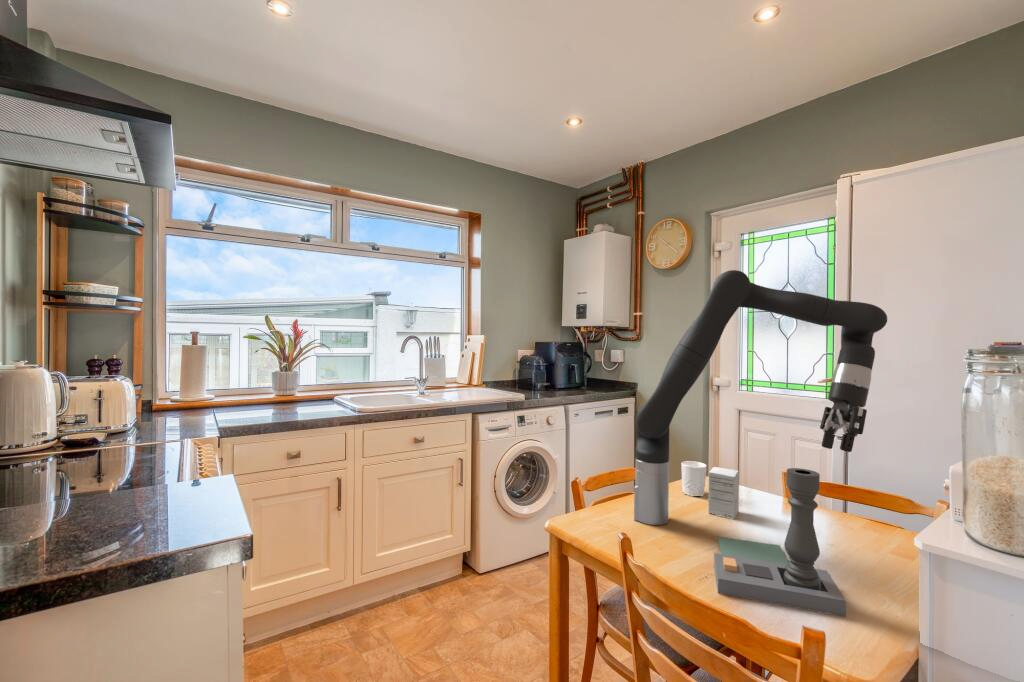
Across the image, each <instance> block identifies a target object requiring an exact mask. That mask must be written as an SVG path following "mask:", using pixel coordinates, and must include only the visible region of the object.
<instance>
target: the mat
mask: <svg viewBox="0 0 1024 682" xmlns="http://www.w3.org/2000/svg"><path fill="white" fill-rule="evenodd" d="M717 541H718V546H719V552H720V554H725V555H731V556H738V557H744V558H750V559H757V560H763V561H769V562H776V563H782V564H788V563H789V561H788V560H787V557H786V555H785V552H784V551H783V549H782V547H781V545H779V544H772V543H765V542H759V541H753V540H746V539H739V538H732V537H724V536H717Z"/></svg>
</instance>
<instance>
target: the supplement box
mask: <svg viewBox="0 0 1024 682" xmlns="http://www.w3.org/2000/svg"><path fill="white" fill-rule="evenodd" d="M739 486H740V471H739V470H736V469H731V468H724V467H718V466H713V467H712V468H711V469H710V470H709V471H708V502H707V503H708V511H707V512H708V514H709V513H712V514H717V515H721V516H725V517H730V518H735V519H736V518H737V516H738V513H739V512H740V511H739V509H740V507H739V505H740V502H739V500H740V497H739V496H740V495H739V494H740V487H739ZM712 514H711V515H712ZM721 516H720V517H721ZM725 517H724V518H725ZM730 518H729V519H730Z"/></svg>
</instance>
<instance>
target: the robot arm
mask: <svg viewBox="0 0 1024 682" xmlns="http://www.w3.org/2000/svg"><path fill="white" fill-rule="evenodd" d="M739 308H745V309H746V308H747V309H753V310H758V311H765V312H769V313H773V314H777V315H780V316H784V317H788V318H791V319H795V320H799V321H803V322H807V323H811V324H815V325H817V326H824V327H831V326H840V327H841V332H840V350H839V352H838V353H839V354H838V358H837V361H836V362H837V363H836V365H835V366H836V367H835V369H834V370H833V374H832V379H831V382H830V387H829V391H828V396H827V399H828V400H829V401H830V402H832V403H833V404H832V407H830V406H825V407H824V410H823V414H822V418H821V421H820V422H821V423H820V425H819V426H820V427H819V429H820V430H822V431H823V436H822V441H821V447H822V448H825V449H830V450H831V449H833V447H834V443H835V442H834V441H835V437H836V434H837V432H838V430H839V429H842V432H843V434H842V436H841V441H840V446H839V449H840V451H844V452H846V453H847V452H848V453H851V452H852V451H853V446H854V443H855V437H858V435H863V434H864V433H863V432H864V430H865V424H866V418H867V413H868V412H867V409H865V407H866V406H867V401H868V395H869V390H870V386H871V381H872V372H873V371H872V370H873V367H874V363H875V357H876V351H875V348H874V347H873V346H872V345H873V337H874V334H875V333H877V332H880V331H882V329H883V328H884V327H886V325H887V323H888V315H887V313H886V311H885V310H883V309H882V308H881V307H879V306H877V305H875V304H872V303H868V302H859V301H853V300H852V301H850V300H836V299H833V298H832V299H831V298H829V297H824V296H820V295H816V294H812V293H806V292H800V291H792V290H783V289H782V290H781V289H775V288H771V287H765V286H763V285H759V284H756V283H754V282H751V281H750V278H749V277H748V275H747V274H746V273H745V272H743V271H741V270H736V269H731V270H726V271H725V272H723V273H722V272H721V274H719V275H718V276H717V277H716V278H715V280H714V281H713V285H712V288H711V291H710V292H709V295H708V296H707V299H706V301H705V303H704V306H703V307H702V309H701V311H700V312H699V314H698V315H697V317H696V318H695V320H694V321H692V323H691V324H690V326H689V327H688V329H687V330H686V331H685V332H684V334H683V335H682V337H681V339H680V340H679V341H678V343H677V345H676V347H675V348H674V350H673V351H672V352H671V355H670V357H669V359H668V361H667V363H666V365H665V367H664V371H663V372H662V375H661V377H660V381H659V383H658V385H657V386H656V388H655V390H654V392H653V393H652V394H651V396H649V399H648V400H647V402H646V403H644V404H643V405H642V406H641V407H639V409H638V410H637V413H636V416H635V425H636V436H635V437H636V438H635V439H636V440H635V472H634V473H635V477H634V478H635V479H634V481H635V482H634V484H635V485H634V489H633V490H634V491H633V492H634V494H633V495H634V496H633V497H634V498H633V501H634V502H633V505H634V507H633V521H636V522H640V523H643V524H646V525H653V526H662V525H665V524H667V523H669V495H670V494H669V493H670V491H669V489H670V488H669V485H670V484H669V483H670V481H669V480H670V425H671V422H672V421H673V419H674V416H675V414H676V411H678V409H679V406H680V404H681V402H682V400H683V399H684V397H685V396H686V395H687V394H688V392H689V391H690V389H691V388H692V387H693V385H694V384H695V383H696V381H697V380H698V379H699V377H700V375H701V374H702V373H703V371H704V369H705V368H706V366H707V364H708V363H709V362H710V360H711V359H712V356H713V354H714V352H715V350H716V348H717V346H718V344H719V342H720V340H721V337H722V335H723V333H724V330H725V328H726V327H727V325H728V323H729V322H730V320H731V319H732V317H733V316H734V314H735V313H736V312H737V310H738V309H739Z"/></svg>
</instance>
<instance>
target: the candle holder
mask: <svg viewBox="0 0 1024 682" xmlns="http://www.w3.org/2000/svg"><path fill="white" fill-rule="evenodd" d="M820 475H821V474H820V473H819V472H817V471H815V470H811V469H805V468H799V467H791V468H790V467H789V468H787V469H786V486H787V490H788V491H789V493H790V495H791V496H789V497H788V498H787V503H788V505H790V507H791V508H790V511H791V513H790V517H791V518H790V523H789V525H788V529H787V534H786V537H785V540H784V542H783V543H784V544H783V545H784V548H785V552H786V553H787V555H788V559H789V561H788V564H787V565H786V566H785V568H786V571H785V572H784V582H783V583H784V585H789V586H795V587H801V588H807V589H813V590H818V591H819V580H818V579H817V577H818V573H817V571H816V570H815V569H816V568H815V567H814V566H815V562H816V561H817V559H818V558H819V557H820V554H821V549H820V547H819V541H818V538H817V534H816V530H815V525H814V511H815V510H816V509H817V508H818V506H819V505H818V502H816V501H815V498H816V496H817V495H818V492H819V491H820V479H821V478H820V477H821V476H820Z"/></svg>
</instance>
